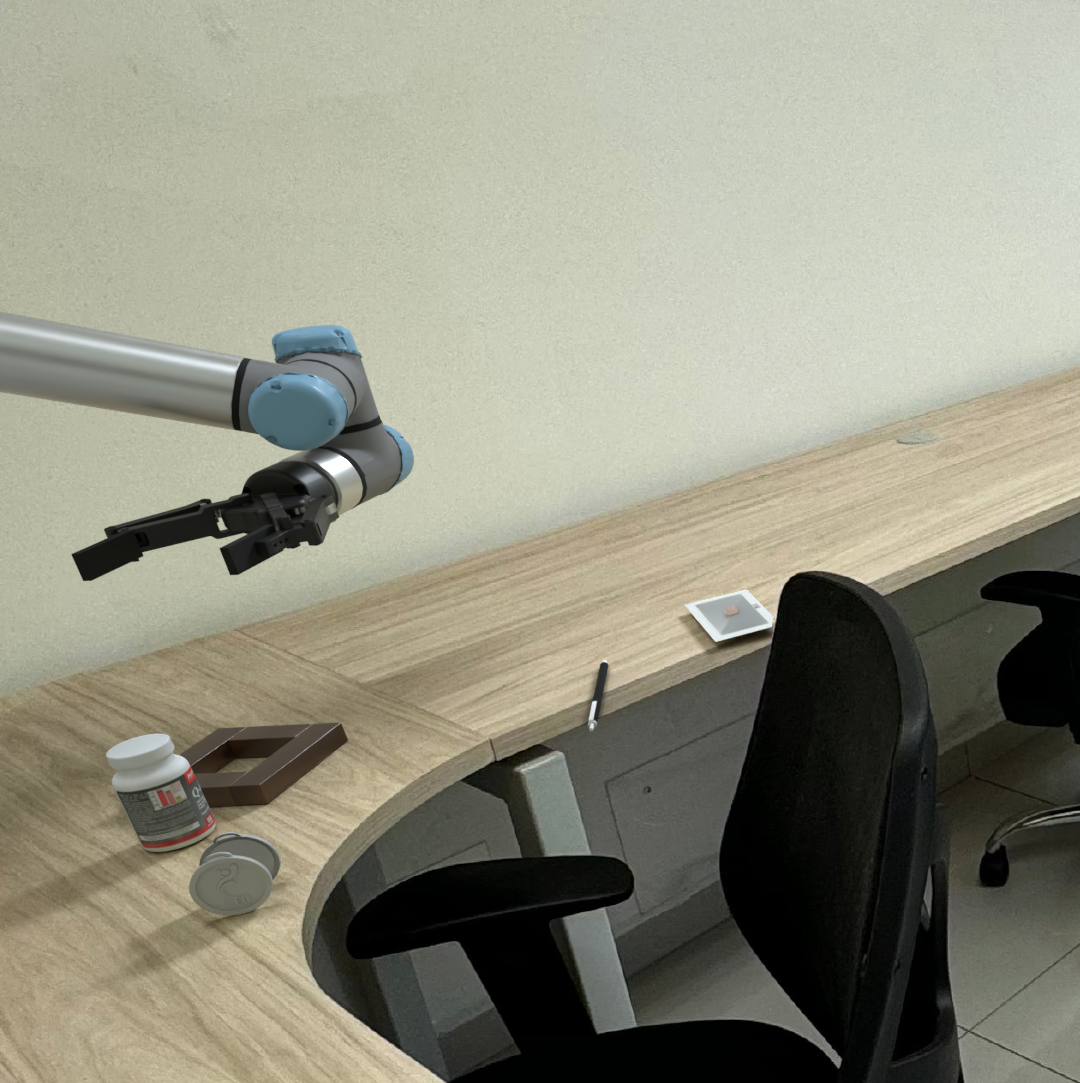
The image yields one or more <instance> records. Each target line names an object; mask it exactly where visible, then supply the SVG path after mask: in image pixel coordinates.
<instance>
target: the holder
mask: <svg viewBox="0 0 1080 1083" xmlns="http://www.w3.org/2000/svg"><path fill="white" fill-rule="evenodd" d="M348 740H349V738H348V736H347V734H346V731H345V728H344V726H343V723H342V722H340V721H339V722H321V723H302V724H301V723H300V724H299V723H297V724H280V725H279V724H278V725H258V726H236V727H219V728H216V729H215V730H214V731H212V732H210V733H209V734H208V735H206V736H205V737H203V738H201V740H199V741H197V742H196V743H194V744H193V745H192V746H190V747H189V748H187V749H186V750H184V751H183V752H181V753H180V754H178V755H179V756H182V757H184V758H185V759H186V760H187V761H188V762H189V764H190V766H191V768H192V771H193V773H194V775H195V777H196V779H197V781H198V784H199V786H200V788H201V790H202V793H203V795H204V797H205V799H206V801H207V803H208V805H209V808H215V807H216V808H218V807H236V806H254V805H255V806H256V805H268V804H269V803H270V802H272V801H273V800H275V799H276V798H277V797H278V796H279V795H281V794H282V793H283V792H284V791H286V790H287V789H288V788H290V787H291V786H292V785H293V784H294V783H296V782H297V781H299V779H301V778H302V777H304V775H306V774H307V773H308V772H310V771H311V770H313V768H315V767H316V766H318V765H319V764H320V763H321V762H322V761H324V760H325V759H327V757H329V756H330V755H331V754H333V753H334V752H335V751H336V750H338V749H339V748H340V747H342V746H343V745H344V744H345V743H346V742H347V741H348ZM333 751H334V752H333ZM247 758H251V759H252V758H265V759H264V760H263V761H261V762H260V763H258V764H257V765H256V766H255V767H253V768H252V769H250V770H248V771H245V770H244V771H224V772H219V770H221V769H222V768H224V767H225V766H227V764H229V763H231V762H232V761H234V760H235V759H247Z"/></svg>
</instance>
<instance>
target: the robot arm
mask: <svg viewBox="0 0 1080 1083" xmlns="http://www.w3.org/2000/svg"><path fill="white" fill-rule="evenodd" d="M271 345H272V348H273V352H274V362H272V361H267V360H262V359H255V358H254V359H253V358H249V357H246V356H241V355H236V354H230V353H225V352H220V351H214V350H209V349H203V348H199V347H192V346H187V345H183V344H176V343H171V342H167V341H160V340H155V339H151V338H144V337H139V336H135V335H134V336H133V335H128V334H123V333H117V332H112V331H108V330H102V329H96V328H91V327H86V326H80V325H74V324H70V323H65V322H58V321H53V320H48V319H43V318H38V317H32V316H27V315H23V314H22V315H21V314H17V313H16V314H15V313H10V312H5V311H1V310H0V393H4V394H9V395H10V394H11V395H16V396H22V397H29V398H34V399H40V400H45V401H52V402H58V403H64V404H71V405H78V406H83V407H90V408H95V409H102V410H108V411H115V412H120V413H127V414H132V415H138V416H146V417H152V418H156V419H157V418H158V419H164V420H171V421H175V422H181V423H188V424H195V425H201V426H208V427H214V428H219V429H225V430H231V431H237V432H244V433H249V434H255V435H259V436H260V437H261V438H263V439H264V440H265V441H267V442H268V443H270V444H271V445H274V446H276V447H278V448H280V449H285V450H288V451H297V452H296V453H294V454H292V455H290V456H288V457H285V458H282V459H281V460H280V461H278V462H275V463H273V464H271V465H269V466H267V467H264V468H262V469H259V470H257V471H255V472H254V473H252V474H251V475H249V477H248V478H247V479H246V481H245V482H244V485H243V487H242V491H241V493H239V494H235V495H231V496H230V497H228V498H227V499H224V500H220V501H215V502H212V499H211V498H201V499H199V500H196V501H194V502H191V503H189V504H186V505H183V506H180V507H177V508H173V509H169V510H166V511H162V512H158V513H154V514H151V515H147V516H144V517H139V518H137V519H134V520H129V521H126V522H122V523H118V524H115V525H109V526H107V527H104V528H103V530H104V534H105V536H106V538H104V539H102V540H100V541H97V542H95V543H93V544H90V545H89V546H87V547H83V548H82V549H80V550H77V551H75V552H73V553H71V557H72V560H73V562H74V564H75V566H76V568H77V571H78V573H79V575H80V577H81V579H82V581H83V582H92V581H95V580H97V579H98V578H101V577H103V576H105V575H107V574H109V573H111V572H113V571H115V570H118V569H119V568H121V567H124V566H126V565H128V564H130V563H136V562H137V563H138V562H140V559H141V558H143V557H144V553H146V552H150V551H154V550H158V549H163V548H167V547H172V546H176V545H179V544H183V543H187V542H192V541H196V540H200V539H204V538H208V537H212V538H214V539H215V540H221V539H225V538H229V537H233V536H234V537H235V536H237V535H242V534H245V535H243V536H241V537H239V538H237V539H235V540H233V541H231V542H229V543H227V544H224V545H223V546H221V547H219V551H220V553H221V556H222V559H223V561H224V563H225V567H226V569H227V571H228V574H229V576H239V575H241V574H243V573H245V572H246V571H248V570H250V569H252V568H254V567H256V566H258V565H260V564H262V563H263V562H266V561H267V560H269V559H271V558H273V557H274V556H277V555H278V554H280V553H282V552H284V550H285V549H287V550H289V549H298V548H299V547H300V546H301V543H306V542H307V544H308V546H311V547H312V546H313V547H317V546H320V545H322V544H323V543H324V541H325V539H326V536H327V533H328V531H329V529H330V526H331V524H332V523H336V521H337V520H338V519H339V518H340V516H341V515H344V514H345V513H347V512H348V511H350V510H353V509H355V508H356V507H358V506H360V505H362V504H364V503H366V502H368V501H370V500H373V499H375V498H376V497H378V496H382V495H384V494H386V493H390V491H391V490H393V489H394V488H395V487H396V486H398V485H399V484H401V483H402V482H403V481H405V480H406V479H407V478H408V477H409V475H410V474H411V472H412V471H413V467H414V463H415V457H414V456H415V455H414V451H413V448H412V446H411V445H410V442H408V441H407V440H406V439H405V438H404V437H403V436H402V434H401V433H400V432H399V431H398V430H397V429H395V428H393V427H392V426H388V425H386V424H384V422H383V420H382V419H381V416H380V414H379V411H378V408H377V405H376V402H375V398H374V395H373V392H372V389H371V386H370V383H369V378H368V376H367V373H366V370H365V366H364V364H363V356H362V353H361V352H359V351H360V350H359V349H358V346H357V344H356V341H355V339H354V337H353V334H352V332H351V331H350V330H349V329H348V328H347V327H344V326H342V325H338V324H337V325H335V324H324V325H323V324H322V325H311V326H303V327H296V328H290V329H287V330H284V331H280V332H277V333H276V334H274V335H273V336H272V338H271ZM220 519H221V520H222V522H223V526H224V527H225V529H221V530H220V527H219V524H218V523H219V522H220Z"/></svg>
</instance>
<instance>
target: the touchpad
mask: <svg viewBox="0 0 1080 1083" xmlns="http://www.w3.org/2000/svg"><path fill="white" fill-rule="evenodd" d="M684 606H685V608H686V609H687V610H688V612H689V613H690V614H691V615H692V616H693V618H695V620H696V621H697V623H699V625H701V627H702V628H703V629H704V630H705V631H706V633H707V634H708V635H709V636H710V638H712V640H713V641H714V642H715V643H718V642H721V641H725V640H729V639H733V638H736V637H740V636H743V635H744V636H745V635H747V634H752V633H755V632H758V631H763V630H767V629H771V628H773V627H772V619H773V618H775V616H774V615H773V614H772V613H771V612H770V611H769V610H768V609H767V608H766V607H765V606H764V605H762V603H761V602H760V601H759V600H758V599H757V598H755V596H754V595H753V594H752V593H750V591H749V590H748V589H742V590H737V591H735V592H730V593H726V594H722V595H718V596H714V597H710V598H706V599H701V600H697V601H693V602H690V603H685V604H684Z"/></svg>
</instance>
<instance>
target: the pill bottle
mask: <svg viewBox="0 0 1080 1083" xmlns="http://www.w3.org/2000/svg"><path fill="white" fill-rule="evenodd" d="M175 747H176V746H175V744H174V742H173V741H172V739H171V736H170V735H168V734H166V733H148V734H143V735H139V736H135V737H132V738H129V739H126V740H124V741H122V742H119V743H117V744H115V745H114V746H112V747H111V748H110V749H108V751H107V752H106V753H105V757H106V759H107V761H108V764H109V766H110V767H111V768H112V769H114V770H116V772H115V773H114V775H113V776H112V779H111V786H112V790H113V791H114V793H115V796H116V797H117V799H118V802H119V803H120V805H121V808H122V810H123V811H124V814H125V816H126V818H127V820H128V822H129V824H130V827H131V828H132V830H133V832H134V834H135V836H136V838H137V840H138V842H139V844H140V846H141V848H143V849H144V850H146V851H148V852H153V853H162V852H163V853H164V852H169V851H176V850H178V849H182V848H186V847H188V846H191V845H194V844H196V843H198V842H199V841H201V840H203V839H205V838H206V837H208V836H209V835H210V834H211V833H212V832H214V830H215V828H216V825H217V824H216V823H217V821H216V819H215V816H214V814H213V812H212V810H211V807H209V805H208V803H207V801H206V799H205V797H204V795H203V793H202V790H201V788H200V786H199V784H198V781H197V779H196V777H195V775H194V773H193V771H192V768H191V766H190V764H189V762H188V761H187V760H186V759H185V758H184V757H182V756H179V755H180V754H174V750H175V749H176V748H175Z"/></svg>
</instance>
